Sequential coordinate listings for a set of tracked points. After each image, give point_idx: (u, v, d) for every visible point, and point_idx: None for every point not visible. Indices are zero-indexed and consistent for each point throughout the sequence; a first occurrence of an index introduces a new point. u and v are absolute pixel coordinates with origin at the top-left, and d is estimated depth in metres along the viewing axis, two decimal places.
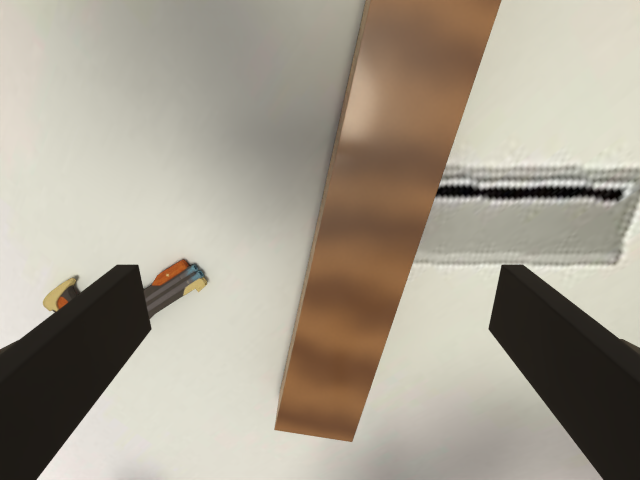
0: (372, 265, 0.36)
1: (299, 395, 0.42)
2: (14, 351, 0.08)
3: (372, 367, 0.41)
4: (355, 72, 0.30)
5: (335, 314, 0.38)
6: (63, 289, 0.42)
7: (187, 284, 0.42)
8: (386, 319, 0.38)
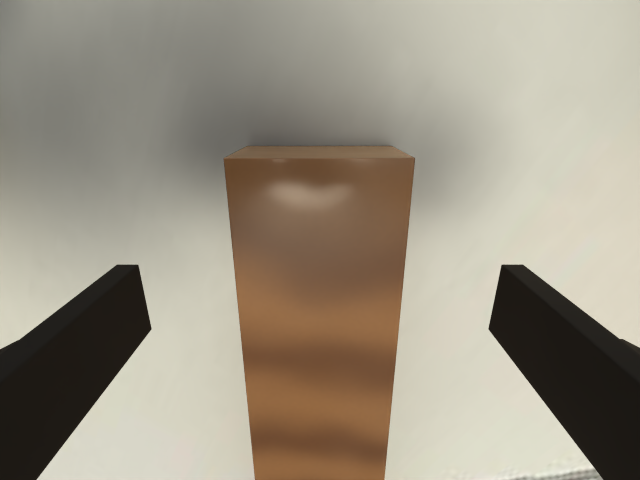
0: None
1: None
2: (14, 351, 0.08)
3: None
4: None
5: None
6: None
7: None
8: None
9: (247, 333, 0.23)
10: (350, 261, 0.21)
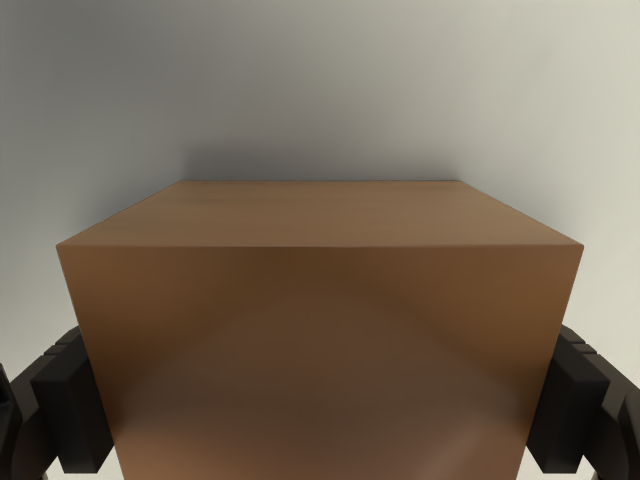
0: None
1: None
2: None
3: None
4: None
5: None
6: None
7: None
8: None
9: None
10: (393, 465, 0.09)
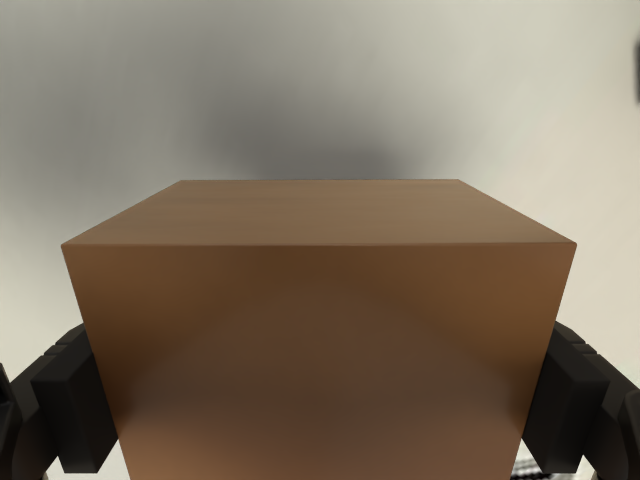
0: None
1: None
2: None
3: None
4: None
5: None
6: None
7: None
8: None
9: None
10: (391, 458, 0.09)
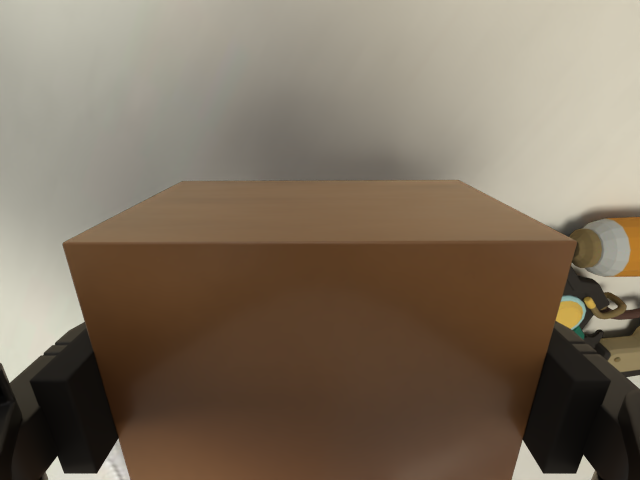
0: None
1: None
2: None
3: None
4: None
5: None
6: None
7: None
8: None
9: None
10: (392, 458, 0.09)
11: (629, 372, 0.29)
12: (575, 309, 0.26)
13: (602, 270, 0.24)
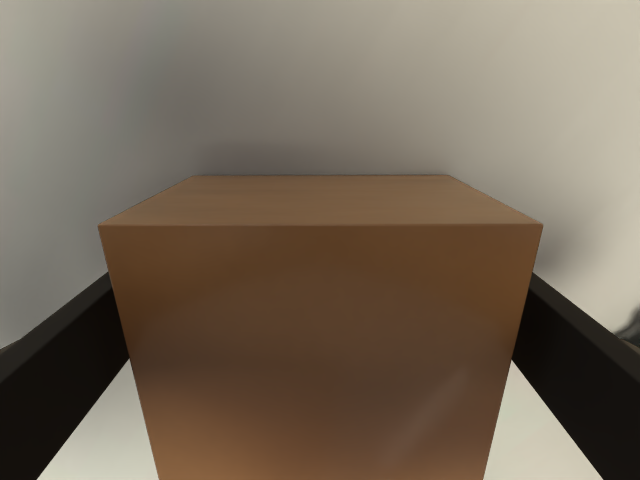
0: None
1: None
2: (14, 351, 0.08)
3: None
4: None
5: None
6: None
7: None
8: None
9: None
10: (384, 422, 0.10)
11: None
12: None
13: None
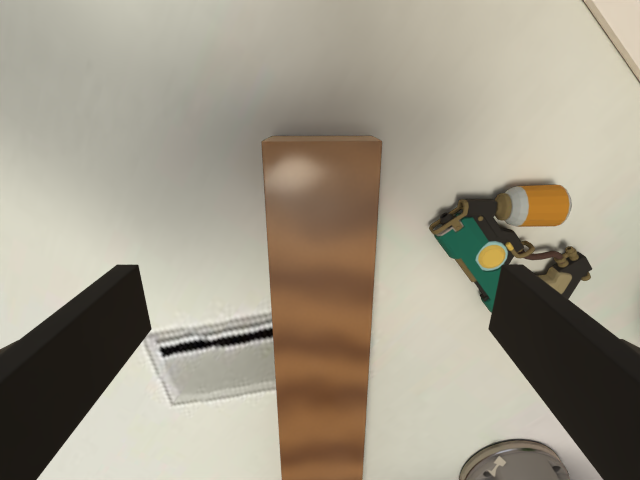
0: None
1: None
2: (14, 351, 0.08)
3: None
4: (278, 413, 0.40)
5: None
6: None
7: None
8: None
9: (273, 261, 0.33)
10: (342, 209, 0.32)
11: None
12: (499, 250, 0.37)
13: (513, 221, 0.35)
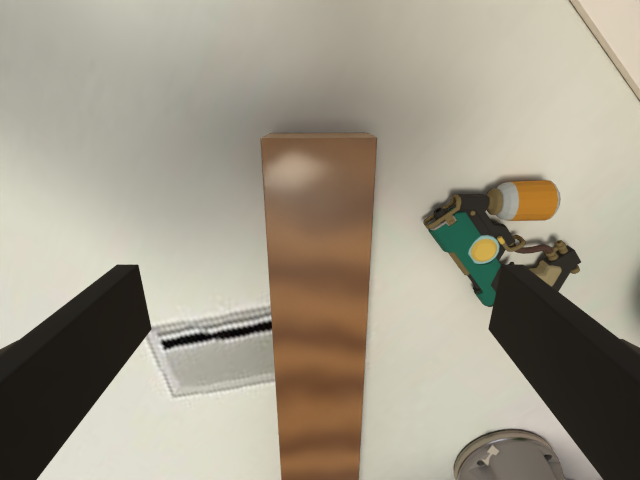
0: None
1: None
2: (14, 351, 0.08)
3: None
4: (277, 403, 0.41)
5: None
6: None
7: None
8: None
9: (271, 254, 0.35)
10: (338, 204, 0.33)
11: None
12: (491, 244, 0.38)
13: (504, 215, 0.36)
